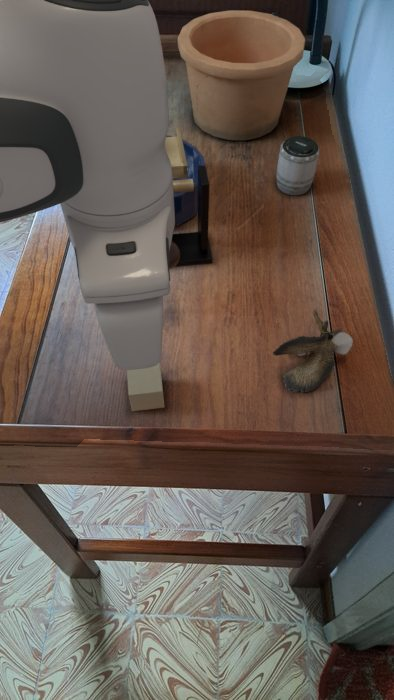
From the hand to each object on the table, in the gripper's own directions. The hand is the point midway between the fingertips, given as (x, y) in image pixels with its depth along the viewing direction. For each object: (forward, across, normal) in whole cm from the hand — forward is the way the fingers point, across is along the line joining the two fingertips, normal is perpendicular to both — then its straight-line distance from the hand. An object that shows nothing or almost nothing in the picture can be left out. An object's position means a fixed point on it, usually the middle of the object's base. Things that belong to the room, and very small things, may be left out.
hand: (137, 315), depth 52 cm
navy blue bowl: (+14, -37, +4) cm, 40 cm away
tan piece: (+4, -22, +4) cm, 22 cm away
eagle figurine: (+15, -1, +21) cm, 25 cm away
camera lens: (+15, -37, +28) cm, 48 cm away
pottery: (+15, -59, +22) cm, 64 cm away
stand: (+14, -23, +4) cm, 28 cm away
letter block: (+14, +1, 0) cm, 14 cm away
